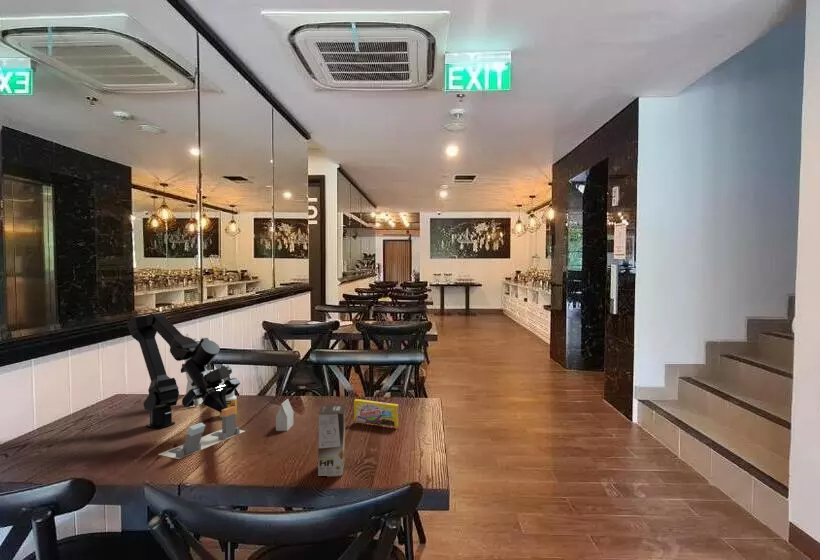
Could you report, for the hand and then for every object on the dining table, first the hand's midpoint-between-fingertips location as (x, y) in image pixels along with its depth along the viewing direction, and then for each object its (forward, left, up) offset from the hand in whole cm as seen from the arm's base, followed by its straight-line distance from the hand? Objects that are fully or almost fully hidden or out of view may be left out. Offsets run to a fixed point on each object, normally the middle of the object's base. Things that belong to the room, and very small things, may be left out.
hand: (226, 413), depth 143 cm
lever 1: (+1, -15, -7) cm, 17 cm away
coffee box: (+41, -5, -9) cm, 42 cm away
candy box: (+35, +32, -9) cm, 48 cm away
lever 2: (+1, 0, -7) cm, 7 cm away
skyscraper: (-42, +26, -9) cm, 50 cm away
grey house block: (+11, +14, -9) cm, 20 cm away
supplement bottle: (-15, +16, -9) cm, 24 cm away
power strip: (-2, -6, -8) cm, 11 cm away
